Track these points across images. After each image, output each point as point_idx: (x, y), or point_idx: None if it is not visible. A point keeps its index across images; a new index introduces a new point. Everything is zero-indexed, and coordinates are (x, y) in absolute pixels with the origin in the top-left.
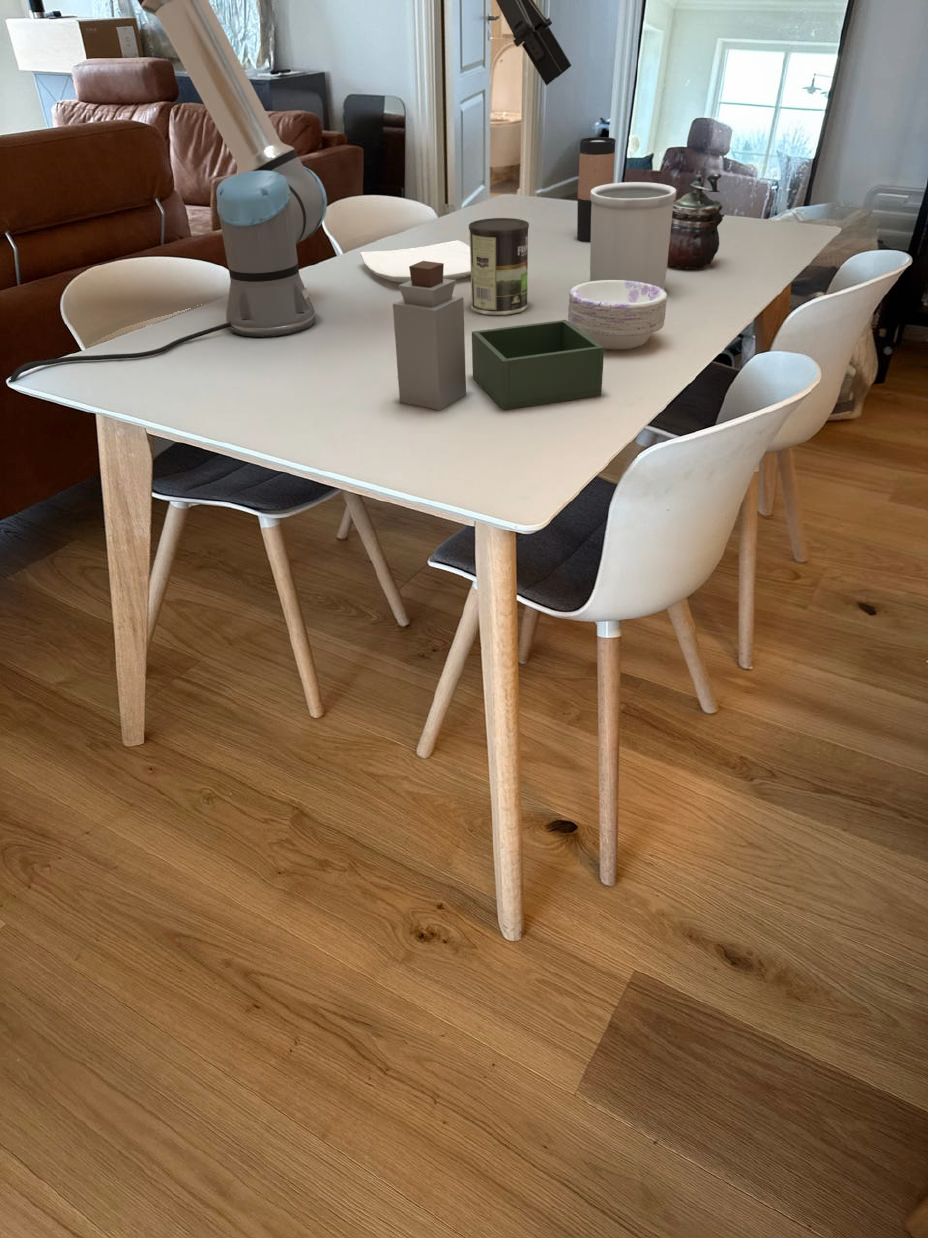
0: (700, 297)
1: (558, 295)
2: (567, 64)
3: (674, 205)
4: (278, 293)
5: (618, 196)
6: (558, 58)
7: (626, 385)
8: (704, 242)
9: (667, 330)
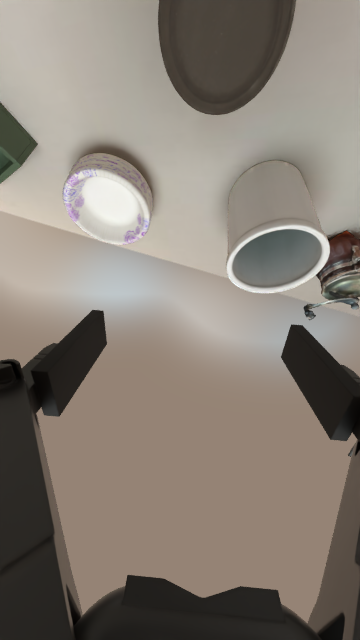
0: None
1: (268, 115)
2: (284, 356)
3: (349, 275)
4: None
5: (320, 244)
6: (295, 362)
7: (28, 196)
8: None
9: (153, 225)
